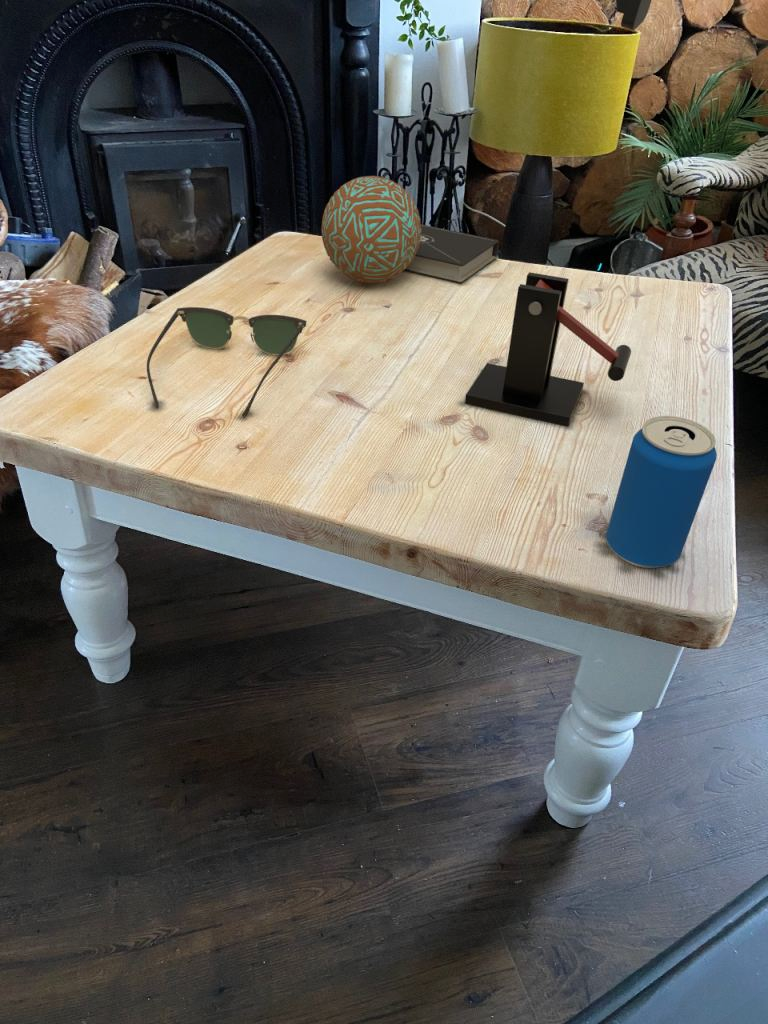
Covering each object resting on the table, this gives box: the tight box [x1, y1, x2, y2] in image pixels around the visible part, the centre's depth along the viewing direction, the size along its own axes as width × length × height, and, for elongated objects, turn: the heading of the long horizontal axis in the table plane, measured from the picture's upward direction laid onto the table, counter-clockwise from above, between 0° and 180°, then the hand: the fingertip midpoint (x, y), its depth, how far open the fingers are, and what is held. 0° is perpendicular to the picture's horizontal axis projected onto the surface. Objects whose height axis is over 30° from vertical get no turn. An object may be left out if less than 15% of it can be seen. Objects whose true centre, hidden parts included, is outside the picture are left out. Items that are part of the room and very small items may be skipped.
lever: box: [535, 279, 632, 382], centre depth 80 cm, size 13×6×2 cm, turn 68°
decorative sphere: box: [321, 175, 422, 284], centre depth 111 cm, size 15×15×15 cm
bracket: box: [464, 271, 585, 427], centre depth 83 cm, size 12×9×14 cm
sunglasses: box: [146, 306, 307, 417], centre depth 87 cm, size 16×17×5 cm
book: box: [403, 223, 500, 285], centre depth 124 cm, size 22×15×3 cm
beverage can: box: [605, 415, 718, 569], centre depth 62 cm, size 6×6×12 cm
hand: (708, 47), depth 39 cm, fingers open, 8 cm apart
